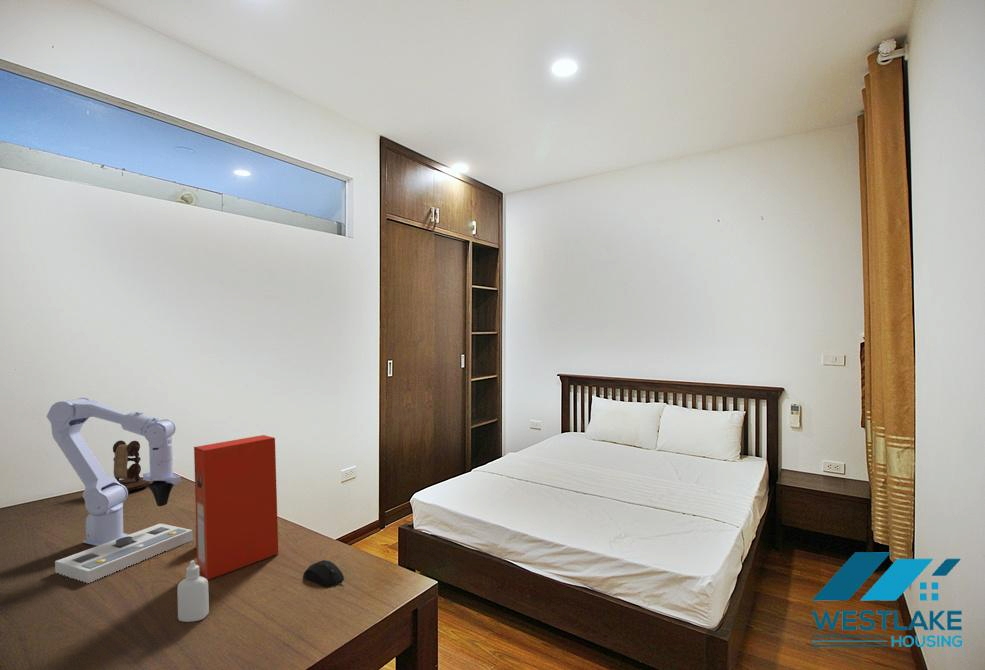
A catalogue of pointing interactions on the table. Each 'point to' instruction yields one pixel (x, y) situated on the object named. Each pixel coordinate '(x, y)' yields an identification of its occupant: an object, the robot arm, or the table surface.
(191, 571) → the eye dropper bottle
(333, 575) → the gaming mouse
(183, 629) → the table surface
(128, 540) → the button middle
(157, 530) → the button
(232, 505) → the file binder
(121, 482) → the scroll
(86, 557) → the button
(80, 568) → the button board
